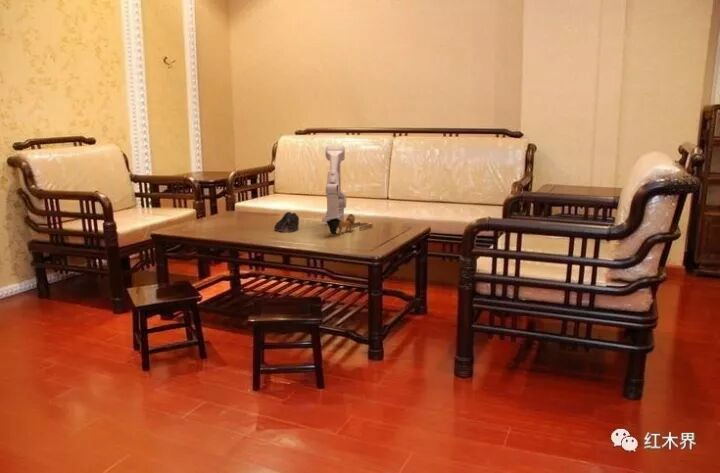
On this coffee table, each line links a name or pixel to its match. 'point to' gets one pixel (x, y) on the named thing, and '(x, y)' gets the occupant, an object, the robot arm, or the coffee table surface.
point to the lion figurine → (346, 223)
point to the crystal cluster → (288, 223)
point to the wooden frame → (362, 225)
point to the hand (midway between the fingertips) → (333, 233)
